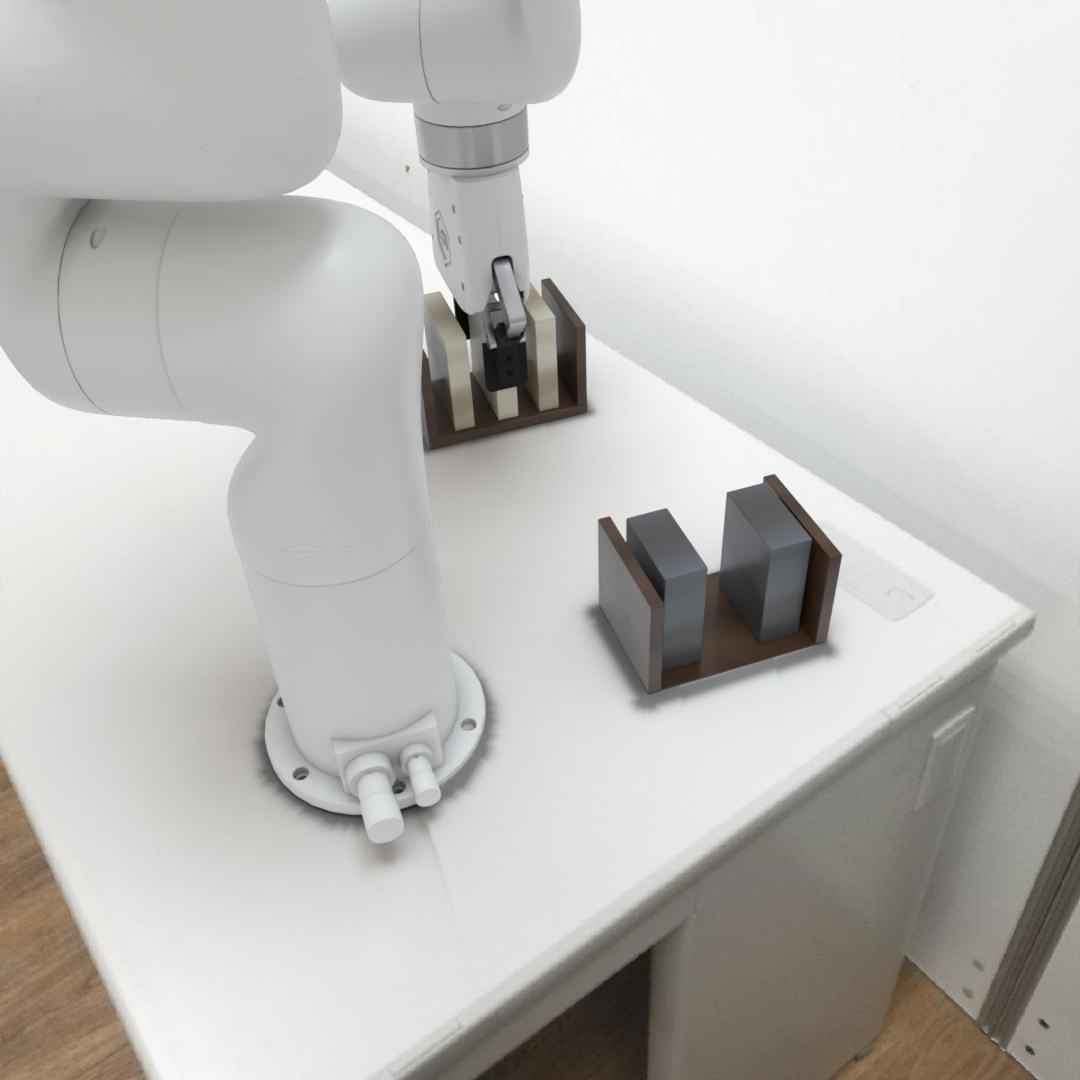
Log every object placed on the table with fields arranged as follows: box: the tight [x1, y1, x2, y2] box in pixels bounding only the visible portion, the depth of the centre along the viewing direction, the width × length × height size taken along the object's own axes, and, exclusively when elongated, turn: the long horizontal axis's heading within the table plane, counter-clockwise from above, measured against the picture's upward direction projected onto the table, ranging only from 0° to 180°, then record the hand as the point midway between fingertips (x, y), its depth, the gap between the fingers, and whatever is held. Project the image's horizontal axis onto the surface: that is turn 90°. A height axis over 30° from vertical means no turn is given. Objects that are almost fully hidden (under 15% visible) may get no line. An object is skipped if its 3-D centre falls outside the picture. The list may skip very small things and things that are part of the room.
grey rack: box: [597, 473, 843, 695], centre depth 66 cm, size 8×12×8 cm
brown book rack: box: [421, 277, 588, 450], centre depth 86 cm, size 8×13×9 cm, turn 109°
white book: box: [468, 294, 518, 420], centre depth 86 cm, size 7×2×8 cm, turn 19°
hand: (491, 358), depth 86 cm, fingers closed on white book, 7 cm apart
